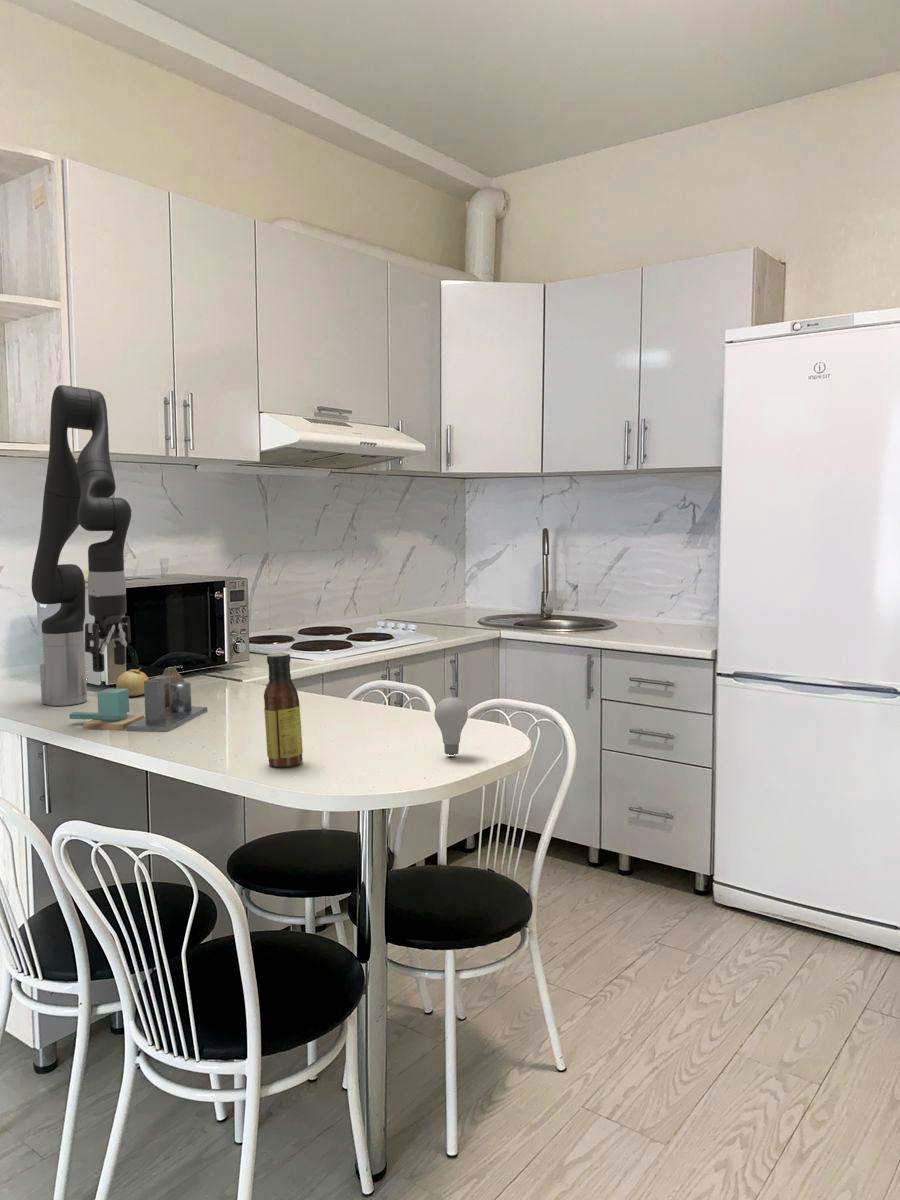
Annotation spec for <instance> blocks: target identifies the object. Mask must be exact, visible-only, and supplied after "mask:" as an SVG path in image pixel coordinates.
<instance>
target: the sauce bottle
mask: <svg viewBox="0 0 900 1200" xmlns="http://www.w3.org/2000/svg"><path fill="white" fill-rule="evenodd" d="M266 662H267V664H268V683H267V685H266V687H265V688H264V692H263V699H264V700H263V701H264V703H263V704H264V709H263V710H264V711H263V712H264V721H265V723H264V725H265V736H266V737H265V740H266V753H267V754H266V756H267V758H268V764H269V765H270V766H271V767H275V768H280V767H282V768H291V767H297V766H298V765H300V764H302V763H303V752H304V751H303V750H304V749H303V748H304V747H303V735H302V734H303V733H302V724H301V723H302V721H301V709H300V708H301V706H300V699H299V694H298V691H297V688H296V687H295V685H294V682H293V680H292V678H291V676H292V675H291V665H290V663H291V654H290V653H288V652H273V653H270V654H267V655H266Z"/></svg>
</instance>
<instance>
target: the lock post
mask: <svg viewBox="0 0 900 1200" xmlns="http://www.w3.org/2000/svg"><path fill="white" fill-rule="evenodd" d="M148 679H149V680H146V681H144V694H143V695H144V718H143V719H141V720H139V721H136V722H134V723H132V724H130V725H128V726H126V727H127V729H126V731H127V732H128V731H130V732H159V733H160V732H163V733H164V732H165V733H168V732H170V731H172V730H173V729H175V728H178V727H179V726H181V725H183V724H185V723H187V722H189V721H191V720H193V719H195V718H197V717H199V716H201V715H203V714H205V713H207V712H208V706H192V692H191V691H192V689H191V686H192V685H191V682H188V681H185V682H175V683H171V684H169V693H170V706H169V707H168V706H165V692H164V685H165V684H167V683H170V682H172V677H171V676H162V675H157V676H155V677H152V678H148Z"/></svg>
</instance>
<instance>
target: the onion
mask: <svg viewBox="0 0 900 1200" xmlns="http://www.w3.org/2000/svg"><path fill="white" fill-rule="evenodd" d="M140 669H141V667H140V668H138V669H129V670H127V671H124V672H122V674H120V675H119V676H118V678H117V680H116V683H115V684H116V685H115V686H116V688H115V689H128V692H129V698H131V697H136V696H141V695H144V681H146V680H149V679H150V678H149V677H148V676H147V675H146V673H145V672H143V671H140Z"/></svg>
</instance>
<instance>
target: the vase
mask: <svg viewBox="0 0 900 1200" xmlns="http://www.w3.org/2000/svg"><path fill="white" fill-rule="evenodd" d="M161 676H171V677H172V682H170V683H167V684H165V685H164V692H165V707H169V706H170V693H169V684H171V683H175V682H186V681H185V679H184V677H182V675H181V674H180V673H179V672H178V671H177V668H176V667H165V669H164V671H163V673H162V674H161Z"/></svg>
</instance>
